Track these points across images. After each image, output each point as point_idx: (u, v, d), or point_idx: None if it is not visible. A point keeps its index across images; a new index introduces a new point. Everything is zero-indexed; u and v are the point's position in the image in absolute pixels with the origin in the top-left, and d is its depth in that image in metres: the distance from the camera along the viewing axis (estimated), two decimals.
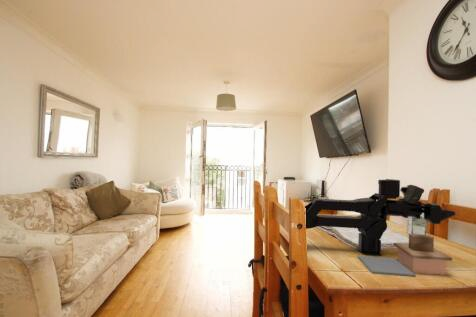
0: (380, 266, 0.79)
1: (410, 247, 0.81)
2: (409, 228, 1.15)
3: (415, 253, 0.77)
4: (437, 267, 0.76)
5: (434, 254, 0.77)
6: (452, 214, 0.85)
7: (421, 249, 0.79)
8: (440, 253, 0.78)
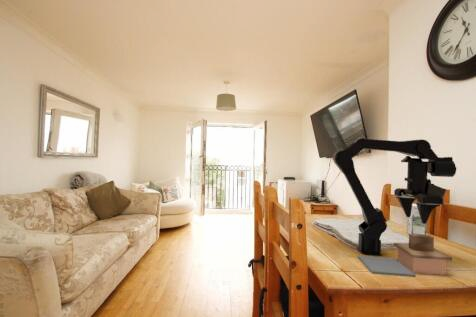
0: (380, 266, 0.79)
1: (410, 247, 0.81)
2: (409, 228, 1.15)
3: (415, 253, 0.77)
4: (437, 267, 0.76)
5: (434, 254, 0.77)
6: (423, 220, 0.84)
7: (421, 249, 0.79)
8: (440, 253, 0.78)
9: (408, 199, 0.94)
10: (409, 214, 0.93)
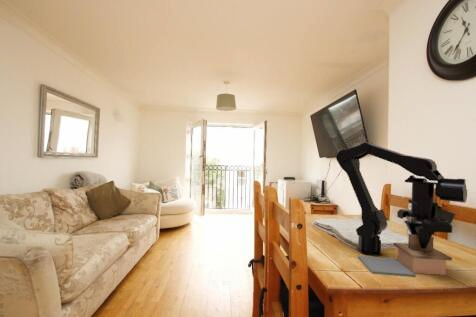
0: (380, 266, 0.79)
1: (410, 247, 0.81)
2: None
3: (415, 253, 0.77)
4: (437, 267, 0.76)
5: (434, 254, 0.77)
6: (423, 245, 0.79)
7: (421, 249, 0.79)
8: (440, 253, 0.78)
9: (418, 225, 0.82)
10: None
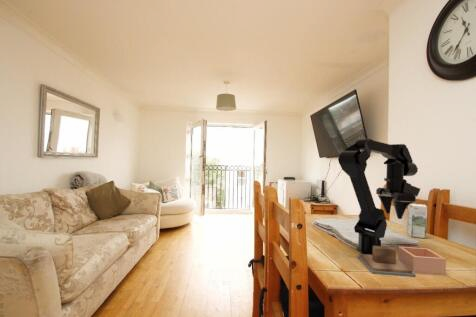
0: None
1: (373, 259, 0.81)
2: (409, 228, 1.15)
3: (376, 265, 0.77)
4: (437, 267, 0.76)
5: (395, 267, 0.77)
6: (399, 216, 0.94)
7: (384, 261, 0.79)
8: (402, 265, 0.78)
9: (388, 197, 1.04)
10: (388, 211, 1.03)
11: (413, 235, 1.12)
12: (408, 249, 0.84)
